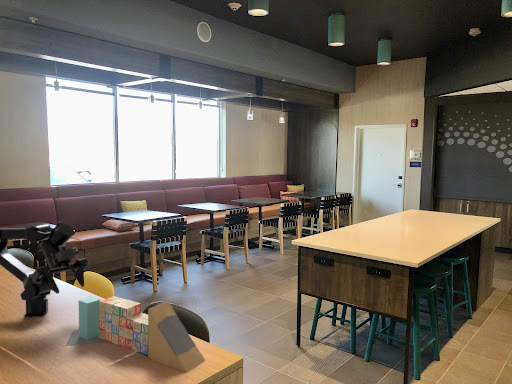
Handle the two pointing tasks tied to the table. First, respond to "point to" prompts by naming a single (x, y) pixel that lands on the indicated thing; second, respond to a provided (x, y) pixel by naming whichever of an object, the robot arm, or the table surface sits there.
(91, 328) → the teal block
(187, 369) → the sandwich container
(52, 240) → the robot arm
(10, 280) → the table surface
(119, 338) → the stack of blocks
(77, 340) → the charcoal mat
